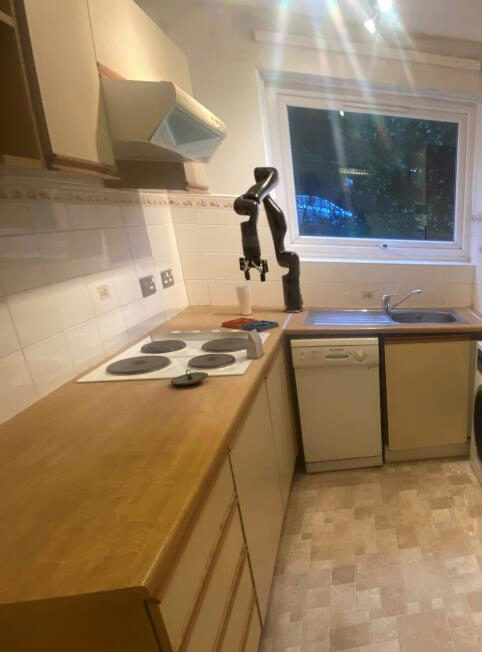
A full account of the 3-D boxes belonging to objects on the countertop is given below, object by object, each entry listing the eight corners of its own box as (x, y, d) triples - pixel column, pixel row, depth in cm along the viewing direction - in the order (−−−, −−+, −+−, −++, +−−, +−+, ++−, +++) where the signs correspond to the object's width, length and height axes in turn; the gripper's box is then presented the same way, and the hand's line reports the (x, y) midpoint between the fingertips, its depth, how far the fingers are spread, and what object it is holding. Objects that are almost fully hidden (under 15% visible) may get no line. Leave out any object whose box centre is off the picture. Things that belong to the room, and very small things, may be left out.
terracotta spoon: (235, 326, 209) (235, 322, 208) (229, 325, 210) (229, 321, 209) (251, 322, 218) (251, 318, 218) (245, 321, 219) (245, 317, 218)
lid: (210, 389, 140) (212, 374, 139) (174, 388, 133) (175, 372, 132) (202, 381, 147) (204, 367, 146) (167, 379, 140) (169, 364, 139)
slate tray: (262, 323, 218) (261, 320, 217) (278, 326, 216) (278, 322, 215) (242, 329, 206) (242, 325, 206) (259, 331, 204) (259, 327, 203)
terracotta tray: (242, 321, 221) (242, 317, 221) (258, 323, 219) (258, 319, 218) (222, 326, 209) (221, 322, 209) (238, 328, 207) (238, 324, 206)
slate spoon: (256, 329, 206) (255, 325, 205) (250, 328, 207) (249, 324, 206) (271, 325, 215) (271, 321, 215) (265, 324, 216) (265, 320, 215)
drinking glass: (239, 313, 238) (235, 285, 232) (253, 312, 241) (249, 285, 235) (239, 315, 232) (235, 287, 227) (253, 315, 235) (250, 287, 230)
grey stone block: (263, 353, 173) (260, 329, 170) (257, 358, 167) (254, 333, 163) (253, 353, 173) (250, 328, 169) (247, 358, 166) (244, 332, 163)
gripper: (269, 246, 203) (273, 281, 209) (244, 244, 207) (248, 278, 212) (258, 247, 196) (262, 283, 202) (232, 244, 200) (237, 280, 206)
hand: (255, 280), depth 207 cm, fingers open, 8 cm apart
